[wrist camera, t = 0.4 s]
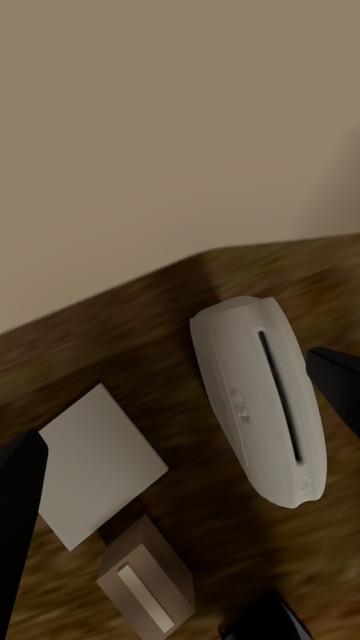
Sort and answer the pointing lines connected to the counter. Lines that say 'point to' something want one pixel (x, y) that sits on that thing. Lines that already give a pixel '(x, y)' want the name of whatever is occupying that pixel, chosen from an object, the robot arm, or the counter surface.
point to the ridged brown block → (147, 581)
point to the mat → (93, 466)
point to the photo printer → (262, 397)
